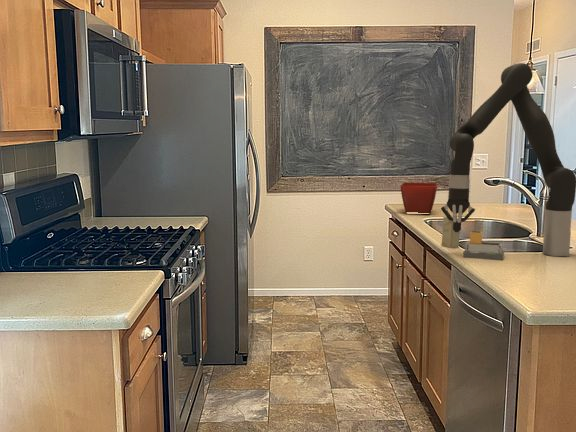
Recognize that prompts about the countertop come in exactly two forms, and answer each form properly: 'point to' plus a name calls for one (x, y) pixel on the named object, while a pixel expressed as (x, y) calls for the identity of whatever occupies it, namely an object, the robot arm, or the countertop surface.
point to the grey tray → (484, 250)
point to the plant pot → (418, 196)
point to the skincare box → (449, 234)
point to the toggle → (476, 237)
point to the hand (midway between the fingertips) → (456, 231)
